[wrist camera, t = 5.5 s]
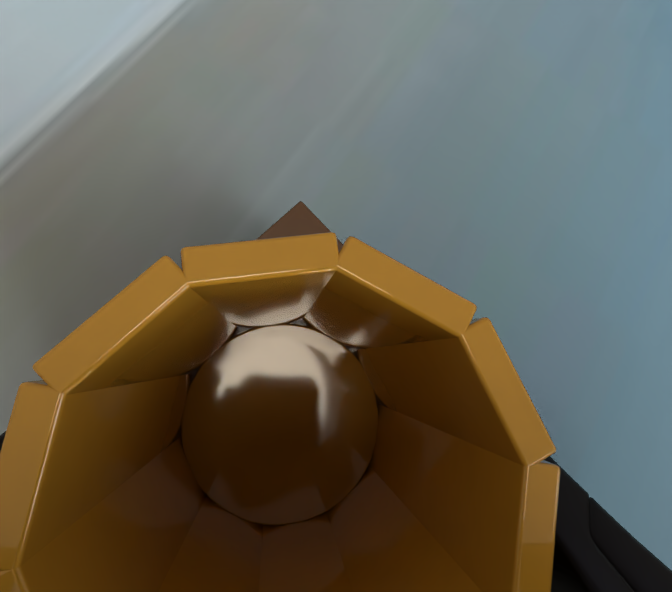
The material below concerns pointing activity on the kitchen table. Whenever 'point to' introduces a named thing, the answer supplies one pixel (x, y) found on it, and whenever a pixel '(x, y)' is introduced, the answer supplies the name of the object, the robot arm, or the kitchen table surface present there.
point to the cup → (278, 436)
